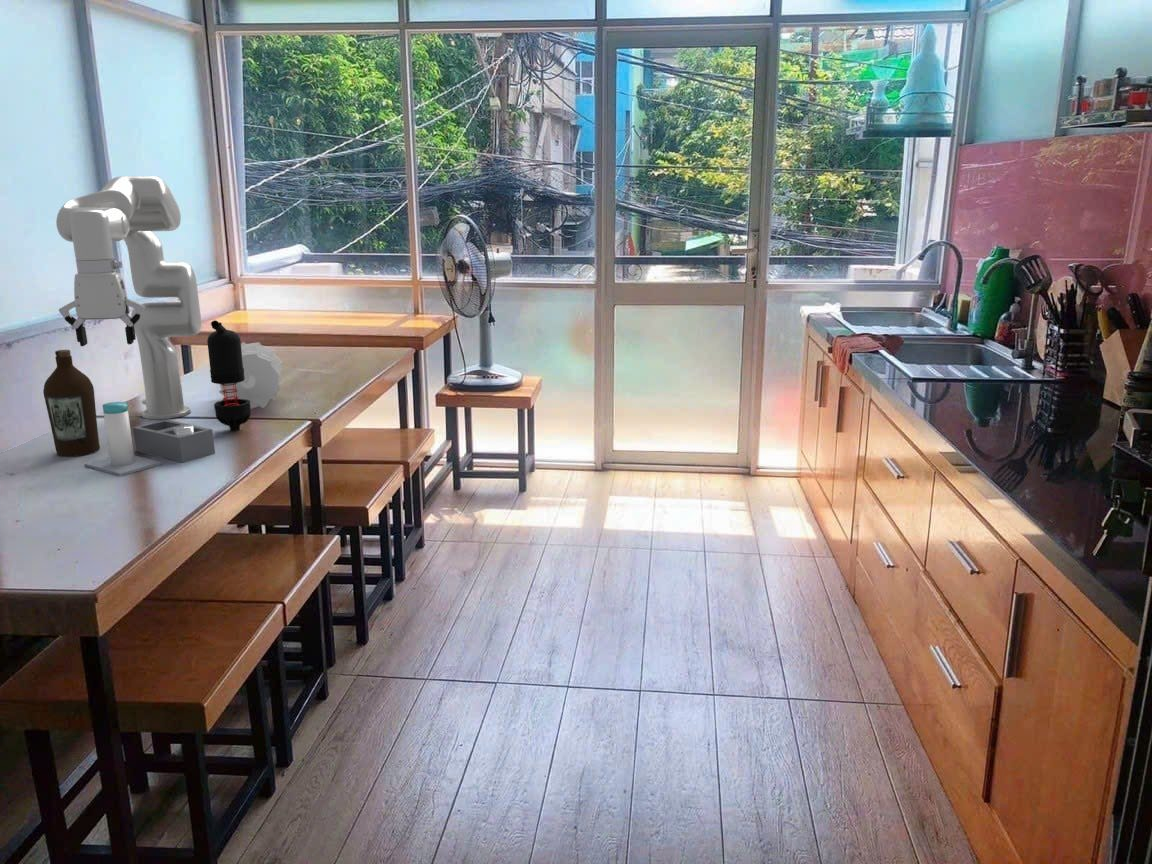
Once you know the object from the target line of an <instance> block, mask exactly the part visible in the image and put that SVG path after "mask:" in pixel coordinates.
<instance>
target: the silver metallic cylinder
mask: <svg viewBox="0 0 1152 864" xmlns="http://www.w3.org/2000/svg"><path fill="white" fill-rule="evenodd" d="M193 425H194V424H190V425H179V426H175V427H174V434H175V435H178V436H183V435H187V434H191V433H194V426H195V425H194V426H193Z"/></svg>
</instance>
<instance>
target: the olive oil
mask: <svg viewBox="0 0 1152 864" xmlns="http://www.w3.org/2000/svg"><path fill="white" fill-rule="evenodd" d="M54 354H55V363H56V368H55V369H54V370H53V372H51V374H50V375H49V376H48V378H47V379H46V380H45V382H44V385H43V390H42V391H43V396H44V397H43V398H44V401H45V405H46V410H47V415H48V420H49V424H50V429H51V433H52V438H53V444H54V447H55V453H56V455H57V456H58V457H69V458H70V457H79V456H86V455H89V454H94V453H95V452H96V453H97V452H98V451H99V450H100V447H101V446H100V439H99V438H100V437H99V429H98V421H97V419H98V418H97V410H96V399H95V397H96V396H95V390H94V389H95V388H94V384H93V383H92V381H91V379H90V378H89V377H88V376H87V375H86V374H85V373H83V372H82V371H81V370H79V369H78V368H77V367H76V366H74V364H73V357H72V355H71V350H70V349H59V350H55V351H54Z"/></svg>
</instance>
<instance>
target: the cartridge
mask: <svg viewBox="0 0 1152 864" xmlns="http://www.w3.org/2000/svg"><path fill="white" fill-rule="evenodd" d="M102 412H103V418H104V420H103V421H104V426H105V433H106V439H107V446H108V452H109V457H110V462H111V465H113V466H124V465H129V464H132V463H134V462H135V460H134V455H135V453H134V445H133V438H132V431H131V424H130V423H131V422H130V416H129V408H128V402H125V401H112V402H107V403H103V404H102Z"/></svg>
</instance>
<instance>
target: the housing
mask: <svg viewBox="0 0 1152 864" xmlns="http://www.w3.org/2000/svg"><path fill="white" fill-rule="evenodd" d="M179 425H191V424H189V423H184V422H180V421H179V422H178V421H174V420H170V419H161V420H158V421H155V422H150V423H145V424H142V425H137V426H135V427H134V426H133V427H132V432H133V438H134V447H135V451H136V452H137V451H138V453H142V454H146V455H150V456H154V457H158V458H162V457H163V458H162V459H166V458H167V460H170V459H171V461H174V460H175V461H176V462H178V461H179V463H182V462H183V463H185V461H186V462H189V461H192V460H196V459H199V458H200V459H201V458H202V457H206V456H210V455H214V454H215V453H216V451H215V441H214V432H213V428H208V427H204V426H203V427H202V426H199V425H194V424H192V425H193V426H194V433H191V434H187V435H183V436H178V435H175V434H174V427H175V426H179Z"/></svg>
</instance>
